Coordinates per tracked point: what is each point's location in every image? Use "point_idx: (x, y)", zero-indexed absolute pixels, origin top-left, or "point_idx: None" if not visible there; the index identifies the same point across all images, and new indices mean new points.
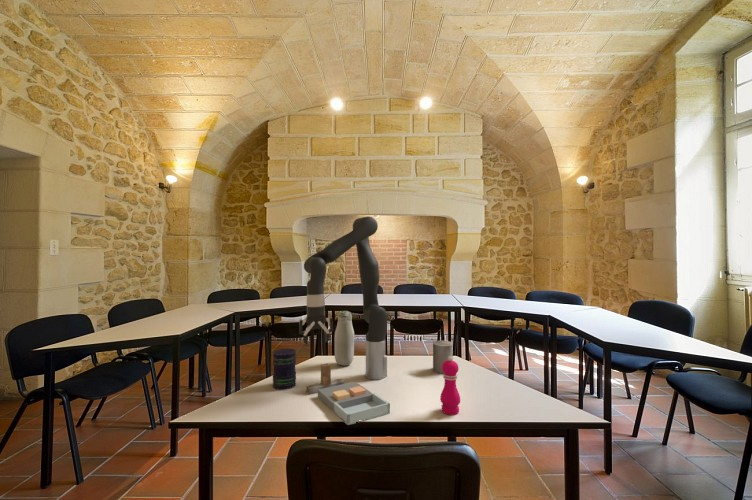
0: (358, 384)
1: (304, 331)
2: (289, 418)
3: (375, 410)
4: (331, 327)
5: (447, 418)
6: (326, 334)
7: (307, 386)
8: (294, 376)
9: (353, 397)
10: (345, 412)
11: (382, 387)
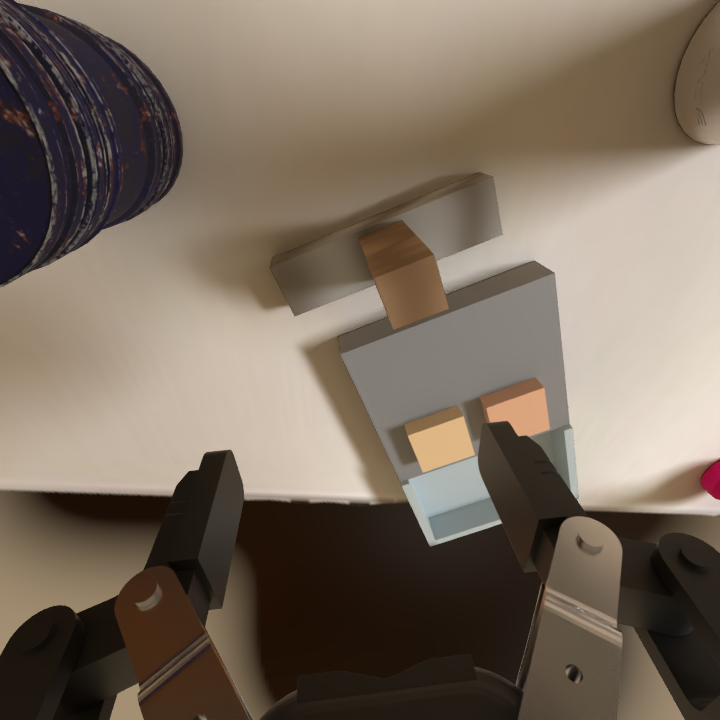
0: (553, 318)
1: (134, 643)
2: (244, 483)
3: None
4: (687, 685)
5: (684, 501)
6: (527, 563)
7: (278, 278)
8: (159, 174)
9: None
10: (426, 536)
11: (665, 266)
